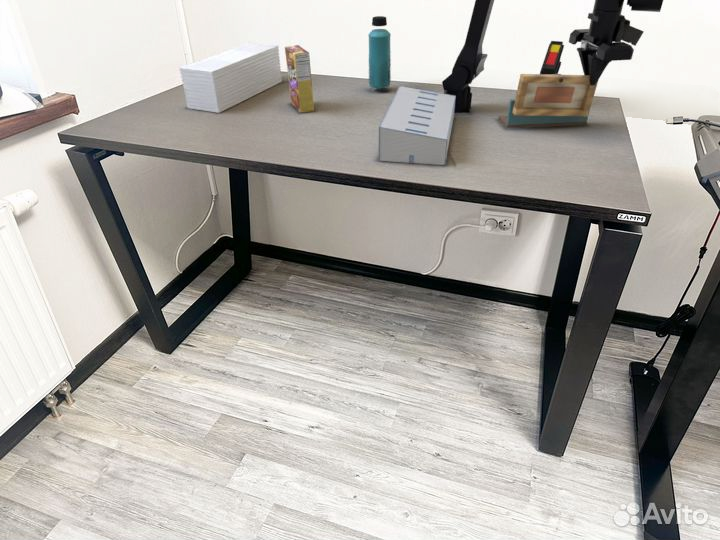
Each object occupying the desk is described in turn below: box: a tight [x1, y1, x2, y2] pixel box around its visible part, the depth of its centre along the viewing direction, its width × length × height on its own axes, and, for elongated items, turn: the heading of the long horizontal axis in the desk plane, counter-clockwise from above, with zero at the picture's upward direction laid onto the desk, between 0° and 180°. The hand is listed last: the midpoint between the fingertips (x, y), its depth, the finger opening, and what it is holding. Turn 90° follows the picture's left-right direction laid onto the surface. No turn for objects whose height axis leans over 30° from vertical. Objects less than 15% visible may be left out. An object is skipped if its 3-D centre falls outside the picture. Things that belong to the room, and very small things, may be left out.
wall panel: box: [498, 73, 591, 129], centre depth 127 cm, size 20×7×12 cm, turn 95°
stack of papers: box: [179, 42, 283, 114], centre depth 151 cm, size 32×11×11 cm, turn 155°
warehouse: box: [378, 85, 456, 166], centre depth 121 cm, size 30×14×8 cm, turn 168°
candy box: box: [284, 44, 315, 114], centre depth 139 cm, size 9×4×15 cm, turn 23°
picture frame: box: [512, 73, 599, 117], centre depth 122 cm, size 18×2×9 cm, turn 95°
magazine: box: [539, 40, 565, 74], centre depth 141 cm, size 4×13×15 cm, turn 155°
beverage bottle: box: [367, 15, 392, 89], centre depth 149 cm, size 6×7×20 cm
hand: (590, 83), depth 121 cm, fingers closed on picture frame, 2 cm apart
